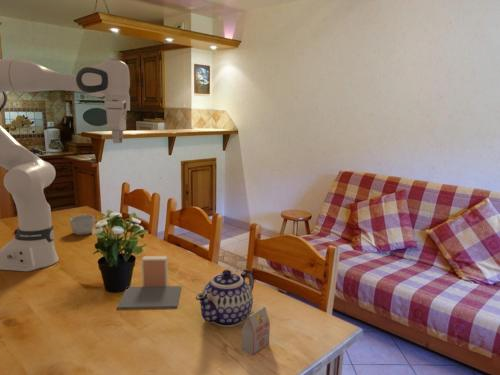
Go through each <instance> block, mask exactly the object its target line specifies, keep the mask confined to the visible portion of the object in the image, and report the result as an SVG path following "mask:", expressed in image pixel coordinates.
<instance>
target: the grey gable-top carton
mask: <svg viewBox="0 0 500 375" xmlns="http://www.w3.org/2000/svg"><path fill="white" fill-rule="evenodd" d="M270 327H271V323H270V319H269V316H268V313H267V308H266V306H263V307H261V308H259V309H258V310H256V311H255V312H254V311H253V313H250V314H249V315H248V316H247V317H246V319H245V323H244V325H243V326H242V329H241V351H242V352H244V353H247V354H248V355H250V356H252V357H254V356H255V355H257V353H259V352H260V351H262V350H263V349H265V348H266V347H268V346H269V345H270V333H271V332H270V330H271V328H270Z"/></svg>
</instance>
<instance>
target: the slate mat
mask: <svg viewBox="0 0 500 375" xmlns="http://www.w3.org/2000/svg"><path fill="white" fill-rule="evenodd" d="M128 287H129V288H128V289H126V288H125V290H124V293H123V294H122V297H121V298H120V300H119V302H118V304H117V306H116V309H117V310H129V309H130V310H132V309H140V310H141V309H178V305H179V301H180V295H181V290H182V286H181V285H173V286H172V285H171V286H170V285H169V286H168V285H167V286H154V287H143V286H128Z"/></svg>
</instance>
